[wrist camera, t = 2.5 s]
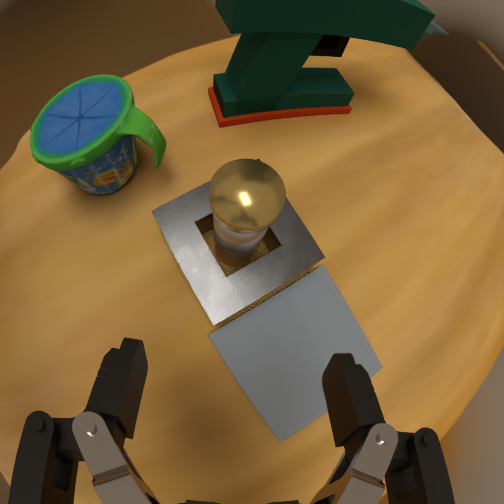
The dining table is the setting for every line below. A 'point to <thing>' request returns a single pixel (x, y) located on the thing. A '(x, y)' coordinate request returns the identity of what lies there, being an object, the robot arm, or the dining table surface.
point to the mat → (292, 350)
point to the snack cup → (94, 134)
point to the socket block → (246, 279)
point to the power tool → (303, 53)
